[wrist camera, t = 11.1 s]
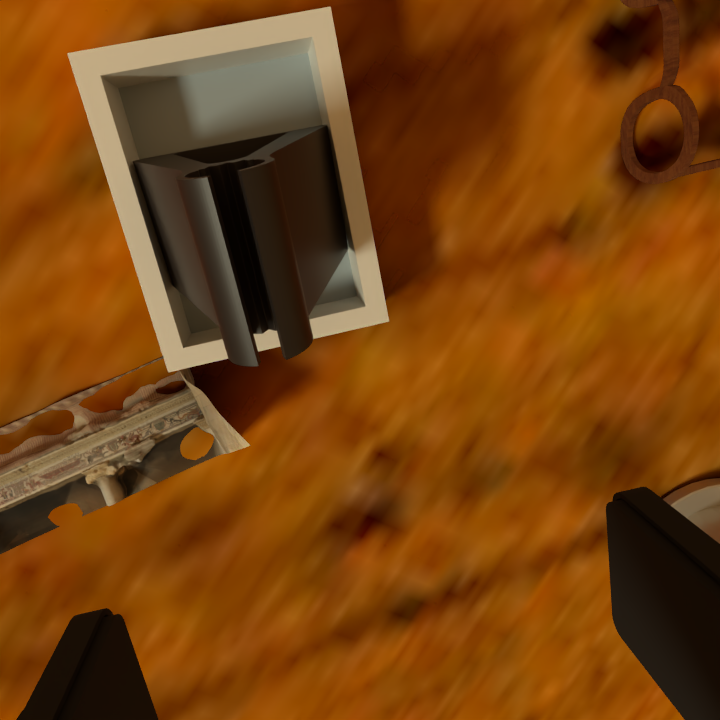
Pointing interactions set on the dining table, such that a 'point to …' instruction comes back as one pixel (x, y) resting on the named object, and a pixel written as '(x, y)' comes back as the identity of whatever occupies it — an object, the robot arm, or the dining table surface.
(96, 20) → the dining table surface
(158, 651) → the dining table surface
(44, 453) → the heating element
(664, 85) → the glasses
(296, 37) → the cream rectangular tray
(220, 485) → the dining table surface
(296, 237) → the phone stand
